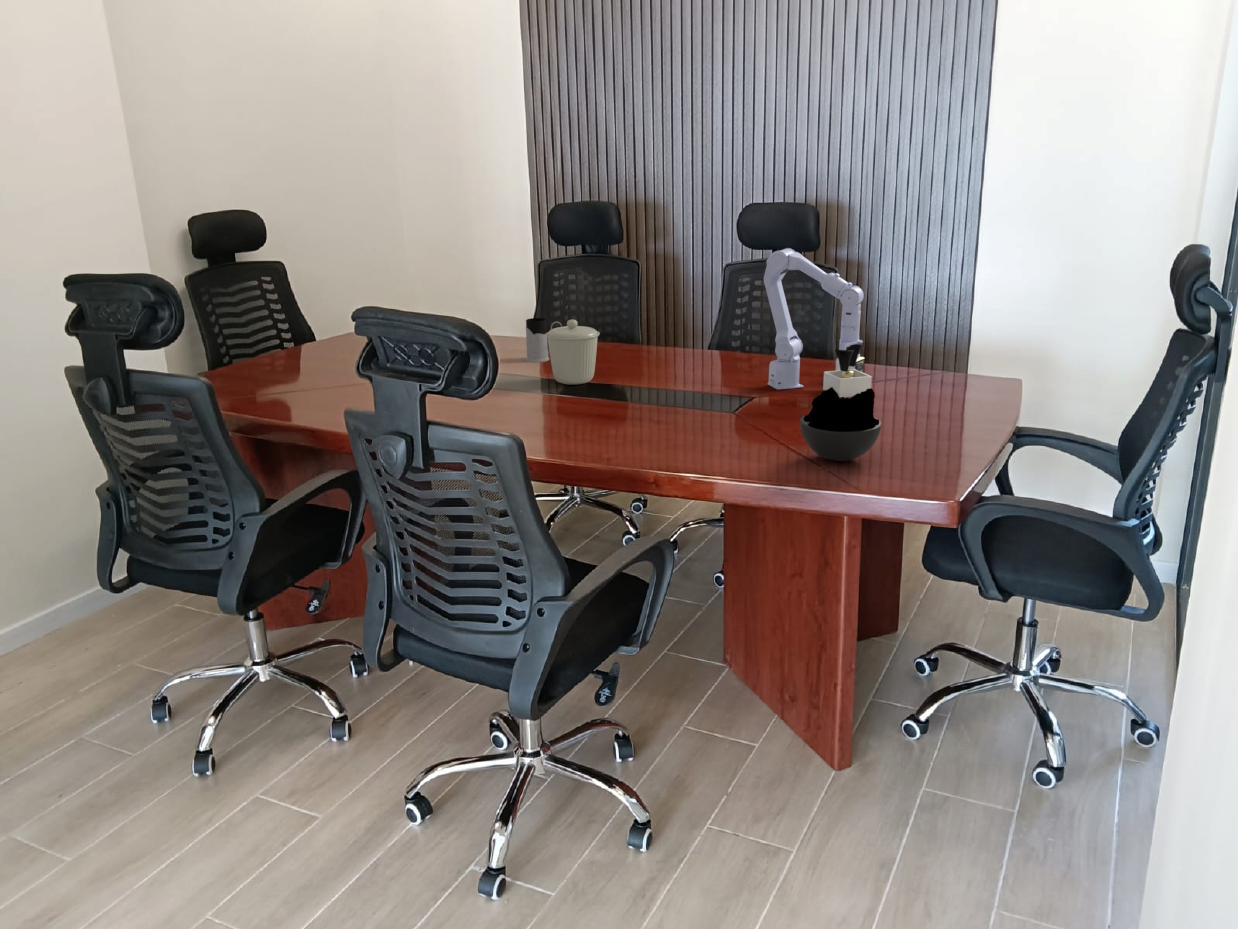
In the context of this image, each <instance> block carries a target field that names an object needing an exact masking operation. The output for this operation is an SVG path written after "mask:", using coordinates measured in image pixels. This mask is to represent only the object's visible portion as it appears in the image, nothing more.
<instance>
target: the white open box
mask: <svg viewBox="0 0 1238 929" xmlns="http://www.w3.org/2000/svg"><path fill="white" fill-rule="evenodd" d="M851 370H852V371H854V374H853V378H842V371H841V370H839V371H836V370H828V371H823V384H822V386H823V387H822V390H823V391H824V390H827V389H829V388H831V387H833V389H834V390H835V391H836V392H837V393H838V395H839V397H844V398H851V397H853V396H854V395H855V394H857V393H859V394H860V393H861V392H863V391H866V390H867V389H870V388H872V378H873V376H871V375H869V374H867V373H865V372H864V373H863V372H860V371H858V370H856V369H851Z"/></svg>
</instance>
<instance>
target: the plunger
mask: <svg viewBox="0 0 1238 929" xmlns="http://www.w3.org/2000/svg"><path fill="white" fill-rule="evenodd" d="M853 374H854V371H852V370H848V371H847V372H846V371H842V378H853Z"/></svg>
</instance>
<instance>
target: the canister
mask: <svg viewBox="0 0 1238 929" xmlns="http://www.w3.org/2000/svg"><path fill="white" fill-rule="evenodd" d="M600 334H601V333H600V331H597V330H596V329H595V328H593V327H589V326H583V325H582V326H581V325H579V324H578V321H577V320H576V319H569V320H567V322H566V326H562V327H561V326H560V327H559V326H558V327H555V328H552V330H551V329H550V330H549V331H548V332H547V333H546V334H545V335H546V337H547V338H548V350H549V359H550V364H551V368H552V375H553V378H554V380H555V381H556V382H557V383H559V384H561V385H562V384H564V385H582V384H586V383H589V382H591V381H592V379H593V378H594V375H595V369H596V359H597V350H598V349H597V347H598V337H599V336H600Z"/></svg>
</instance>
